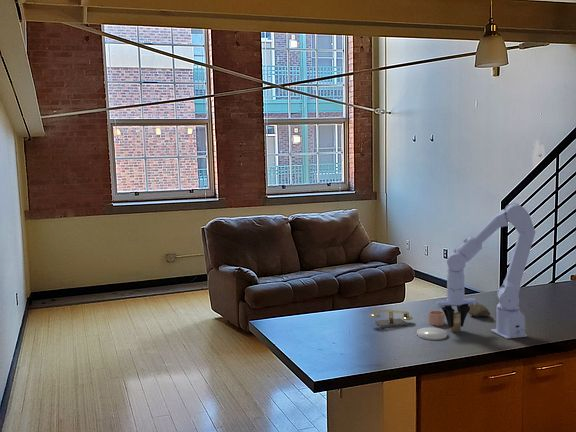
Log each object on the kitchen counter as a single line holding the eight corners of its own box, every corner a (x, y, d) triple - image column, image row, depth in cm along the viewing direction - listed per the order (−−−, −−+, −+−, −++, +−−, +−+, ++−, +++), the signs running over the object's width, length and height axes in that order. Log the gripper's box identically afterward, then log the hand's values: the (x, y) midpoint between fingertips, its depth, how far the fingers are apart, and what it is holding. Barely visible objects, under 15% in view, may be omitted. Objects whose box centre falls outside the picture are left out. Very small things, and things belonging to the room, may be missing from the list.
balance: (416, 324, 213) (416, 307, 212) (372, 328, 209) (372, 311, 208) (408, 320, 219) (408, 303, 218) (366, 324, 215) (366, 307, 214)
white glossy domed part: (452, 338, 196) (452, 334, 196) (425, 341, 194) (425, 337, 194) (438, 329, 206) (438, 326, 206) (411, 332, 204) (411, 329, 204)
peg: (462, 331, 203) (462, 313, 202) (453, 332, 202) (453, 314, 202) (457, 329, 206) (457, 310, 206) (448, 329, 206) (448, 311, 205)
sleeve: (447, 324, 211) (447, 313, 211) (433, 326, 210) (433, 315, 210) (439, 320, 217) (439, 310, 216) (425, 322, 216) (425, 311, 215)
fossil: (487, 305, 215) (463, 295, 222) (481, 314, 214) (457, 304, 221) (492, 316, 221) (469, 306, 228) (487, 325, 220) (463, 315, 227)
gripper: (468, 283, 208) (468, 321, 210) (431, 287, 205) (431, 324, 206) (479, 288, 201) (479, 326, 203) (440, 291, 198) (440, 330, 199)
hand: (455, 326), depth 204 cm, fingers closed on peg, 3 cm apart
